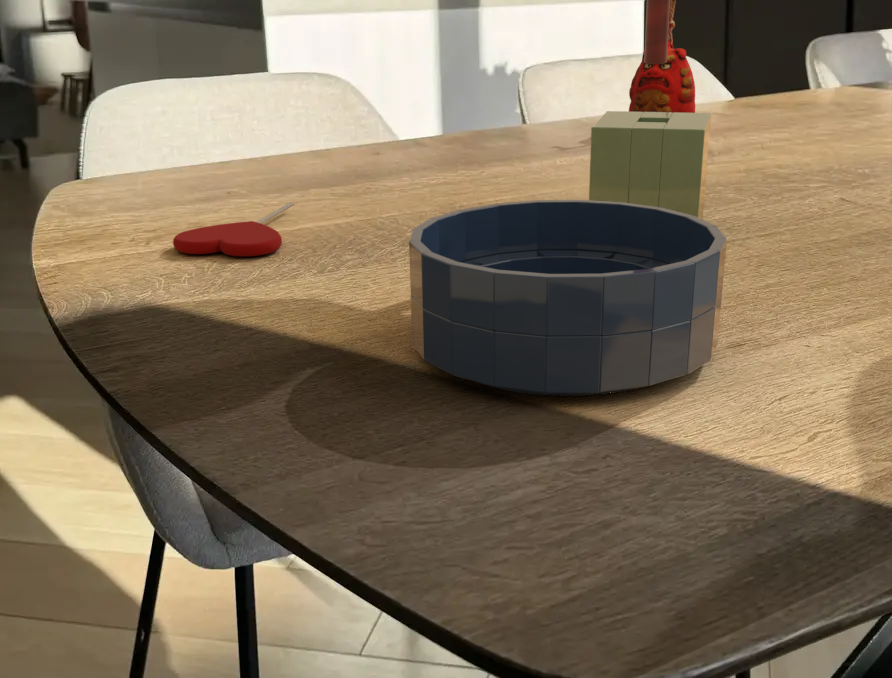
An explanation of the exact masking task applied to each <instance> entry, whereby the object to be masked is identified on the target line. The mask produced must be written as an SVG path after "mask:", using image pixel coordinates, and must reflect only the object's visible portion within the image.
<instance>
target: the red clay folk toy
mask: <svg viewBox="0 0 892 678" xmlns="http://www.w3.org/2000/svg"><path fill="white" fill-rule="evenodd" d="M676 2H677V0H670V12H669V30H668V49H667V62H666V63H664V64H646V63H644V54H645V50H643V52H642V57H641V62H640V64H639V65H638V66H637V69H636V71H635V73H634V76H633V78H632V79H631V83H630V88H629V92H628V95H629V99H630V103H629V107H628V112H672V113H674V112H677V113H696V84H695V79H694V75H693V74H694V73H693V71H692V68H691V66H690V63H689V61H688V59H687V50H685V49H684V48H683V47H681V48H677V47H676V48H675V47H674V41H673V40H674V39H673V30H674V29H675V28H676V23H675V21H674V15H675V8H676Z"/></svg>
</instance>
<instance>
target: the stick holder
mask: <svg viewBox="0 0 892 678" xmlns="http://www.w3.org/2000/svg"><path fill="white" fill-rule="evenodd" d="M711 120H712V113H711V112H695V113H677V112H674V113H672V112H629V111H621V110H619V111H617V110H607V111H606V112H605V113H604V114H603V115H602V116H601V117H600V118H599V119H597V121H596V122H595V123H594V124H593V125H592V126H591V129H590V156H589V157H590V158H589V182H588V183H589V184H588V185H589V186H588V200H592V201H609V202H625V203H632V204H639V205H646V206H654V207H661V208H665V209H669V210H673V211H677V212H681V213H685V214H689V215H693V216H696V217H698V218H700V219H702V220H704V219H703V218H704V212H705V200H706V199H705V198H706V185H707V175H708V173H707V172H708V159H709V147H710V136H711V135H710V134H711V123H712V122H711Z"/></svg>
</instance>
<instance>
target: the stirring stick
mask: <svg viewBox="0 0 892 678" xmlns="http://www.w3.org/2000/svg"><path fill="white" fill-rule="evenodd" d="M645 12H646V16H645V33H644V34H645V35H644V36H645V37H644V51H645V54H644V63H646V64H664V63H666V62H667V49H668V32H669V22H670V0H646V11H645Z"/></svg>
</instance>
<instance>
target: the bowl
mask: <svg viewBox="0 0 892 678" xmlns="http://www.w3.org/2000/svg"><path fill="white" fill-rule="evenodd" d="M727 243H728V240H727V237H726V236H725V234H724V233H723V232H722V230H721V229H720V228H719V226H717V225H715V224H713V223H712V222H711V223H710V222H709V221H707V220H705V219H700V218H698V217H696V216H693V215H689V214H685V213H681V212H677V211H673V210H669V209H665V208H661V207H654V206H646V205H639V204H632V203H625V202H609V201H592V200H589V199H535V200H533V199H532V200H522V201H521V200H520V201H509V202H507V201H506V202H497V203H489V204H483V205H478V206H473V207H466V208H461V209H457V210H453V211H450V212H447V213H444V214H439V215H437V216H434V217H430V218H428V219H426V220H425V221H423V222H422V223H420V224H419V225H416V227H414V228H412V230H411V233H410V237H409V241H408V254H409V281H410V282H409V286H410V312H411V313H410V314H411V342H412V343H411V344H412V346H413V348H414V349H415V351H416V352H417V353H418V354H419V356H420V357H421V358H422V360H423V361H425V362H426V363H428V364H430V365H432V366H433V367H435V368H438V369H439V370H441V371H443V372H445V373H447V374H449V375H451V376H453V377H457V378H460V379H463V380H468V381H472V382H475V383H477V384H481V385H483V386H487V387H490V388H491V387H492V388H495V389H498V390H503V391H509V392H514V393H520V394H529V395H537V396H548V395H553V396H554V397H556V396H555V395H560V396H559V397H570V396H569V395H572V396H571V397H586V396H585V395H588V396H595V395H594V394H597V395H596V396H599V395H598V394H602V395H608V394H607V393H610V392H611V393H610V394H613V393H612V392H618V393H622V392H621V391H623V392H628V391H627V390H629V391H633V390H638V389H641V388H644V387H650V386H654V385H657V384H661V383H664V382H667V381H670V380H673V379H677V378H680V377H684V376H688V375H689V374H691V373H692V372H694V371H696V370H697V369H699V368H700V367H702V366H704V365H705V364H707V363H708V362H710V361H711V360H712V358H713V355H714V353H715V350H716V348H717V346H718V344H719V332H720V322H721V321H720V320H721V310H722V298H723V286H724V277H725V265H726V264H725V263H726V255H727V254H726V252H727ZM603 393H604V394H603ZM553 396H552V397H553Z"/></svg>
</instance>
